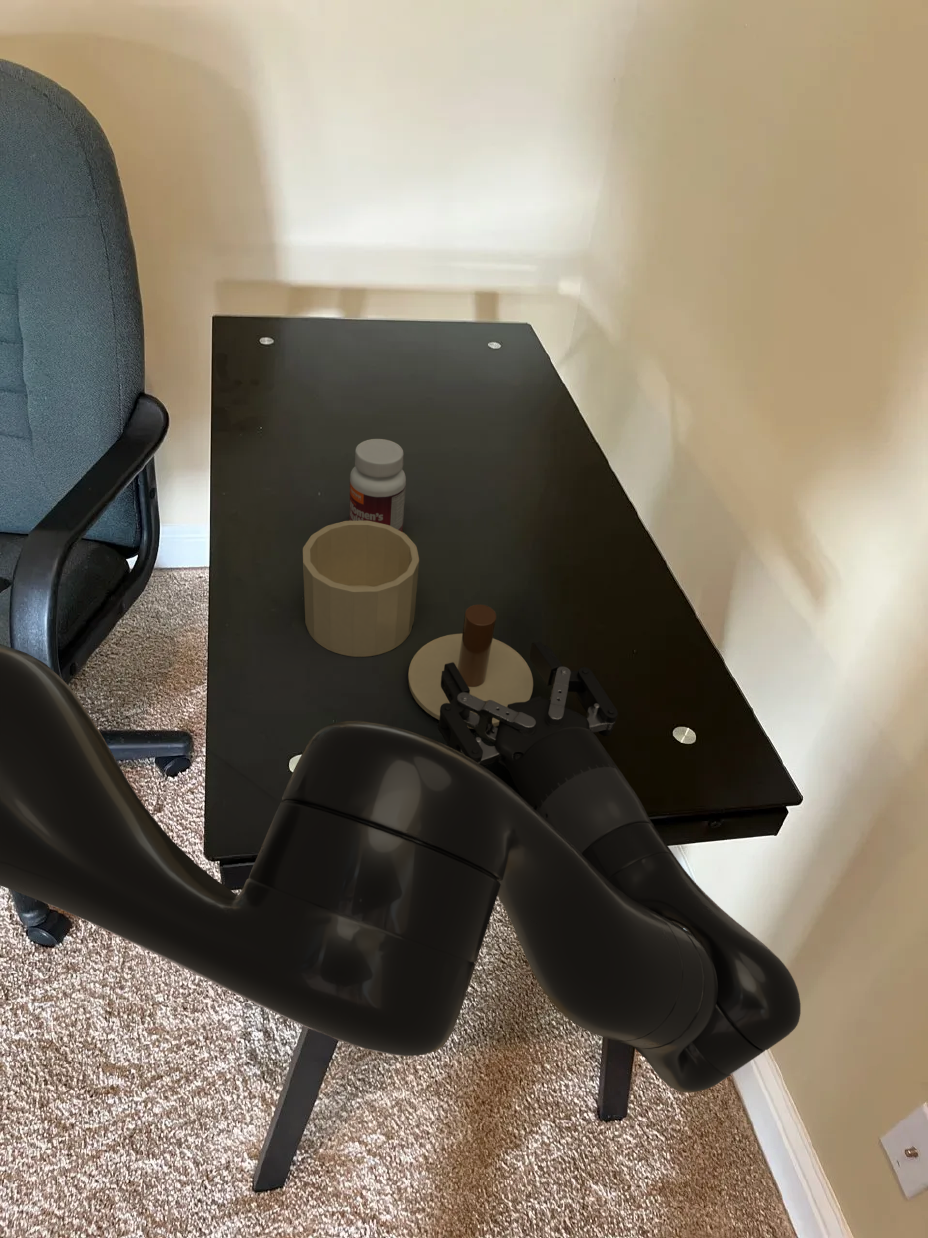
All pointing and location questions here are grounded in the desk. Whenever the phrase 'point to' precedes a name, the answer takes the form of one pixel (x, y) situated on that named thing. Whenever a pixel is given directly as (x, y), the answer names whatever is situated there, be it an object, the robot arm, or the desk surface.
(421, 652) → the lid
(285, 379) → the desk surface
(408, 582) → the canister
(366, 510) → the pill bottle
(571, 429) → the desk surface
